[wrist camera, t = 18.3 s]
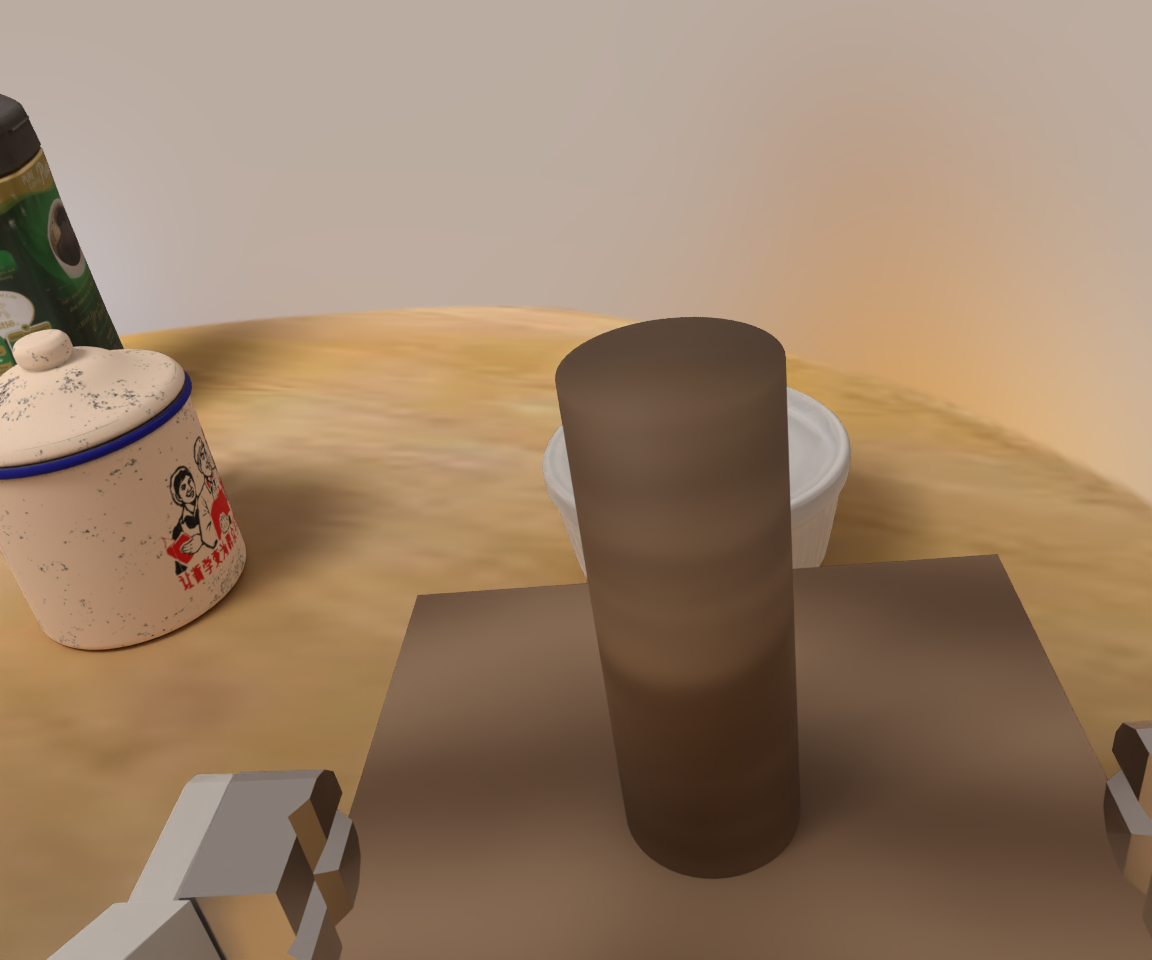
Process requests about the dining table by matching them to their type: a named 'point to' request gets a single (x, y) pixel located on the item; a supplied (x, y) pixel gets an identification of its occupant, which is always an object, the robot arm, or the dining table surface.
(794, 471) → the ramekin
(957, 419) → the dining table surface
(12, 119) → the coffee jar
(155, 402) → the teacup with lid
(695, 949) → the walnut cover
